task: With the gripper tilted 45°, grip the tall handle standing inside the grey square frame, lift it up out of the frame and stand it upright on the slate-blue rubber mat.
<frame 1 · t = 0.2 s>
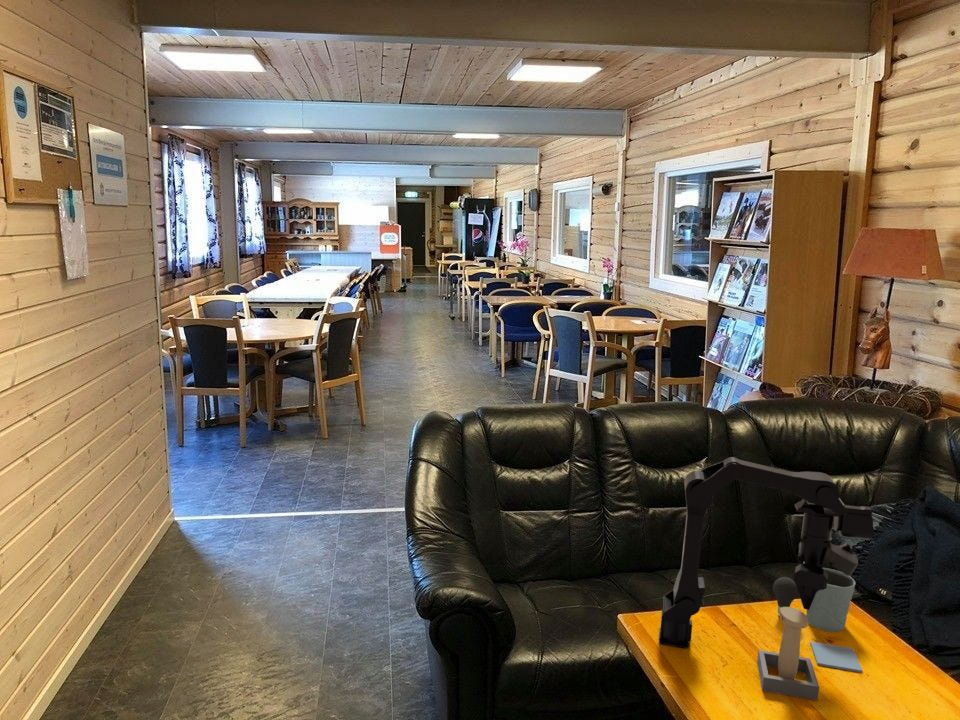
hand: (807, 599, 158), 14 cm above the table, tool pointing down, fingers open, 9 cm apart
grey square frame: (786, 680, 152), on the table
light bulb: (782, 616, 179), on the table
handle: (786, 681, 152), resting in grey square frame
grey cup: (826, 623, 177), on the table
mat: (835, 657, 162), on the table
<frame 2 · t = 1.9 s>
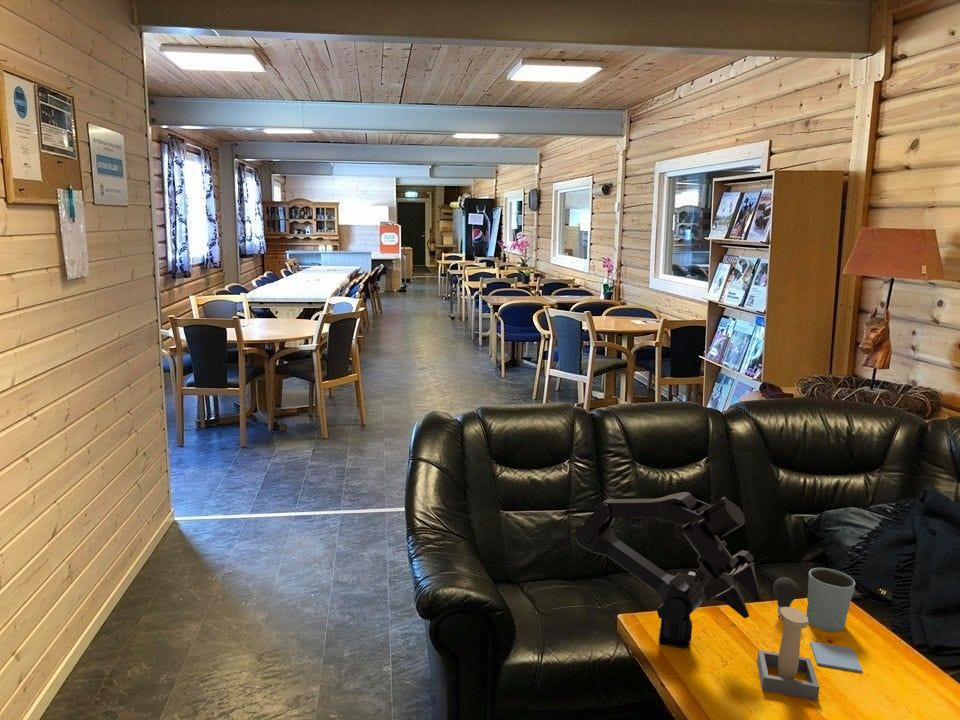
hand: (753, 608, 155), 13 cm above the table, tool tilted 45°, fingers open, 9 cm apart
nothing on the table moved.
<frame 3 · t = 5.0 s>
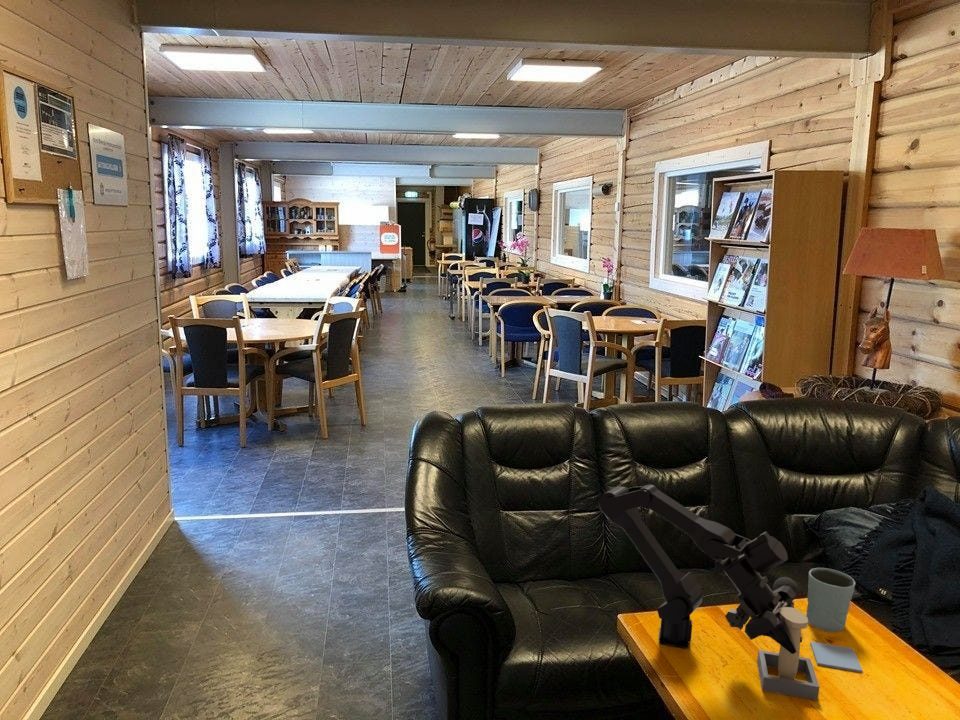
hand: (797, 647, 150), 8 cm above the table, tool tilted 45°, fingers closed on handle, 5 cm apart
handle: (786, 681, 152), resting in grey square frame, touching gripper
everything else where it was.
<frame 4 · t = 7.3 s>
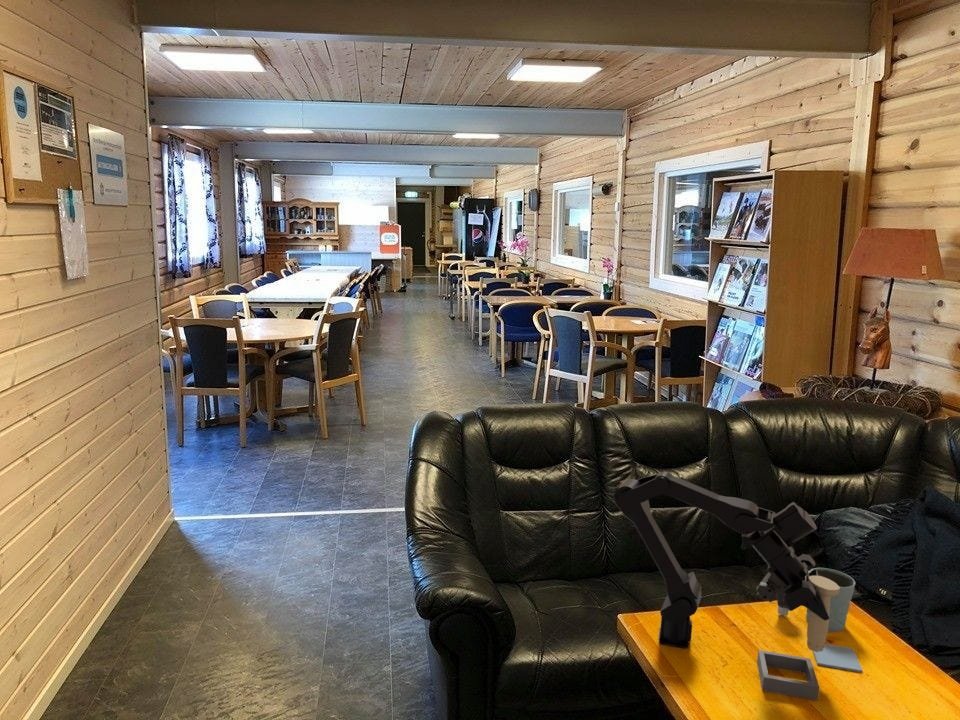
hand: (827, 614, 152), 14 cm above the table, tool tilted 45°, fingers closed on handle, 4 cm apart
handle: (814, 649, 154), point 6 cm above the table, touching gripper
everything else where it was.
when the fingers open (10 cm above the table, at t = 9.6 s): handle drops 1 cm, resting on mat.
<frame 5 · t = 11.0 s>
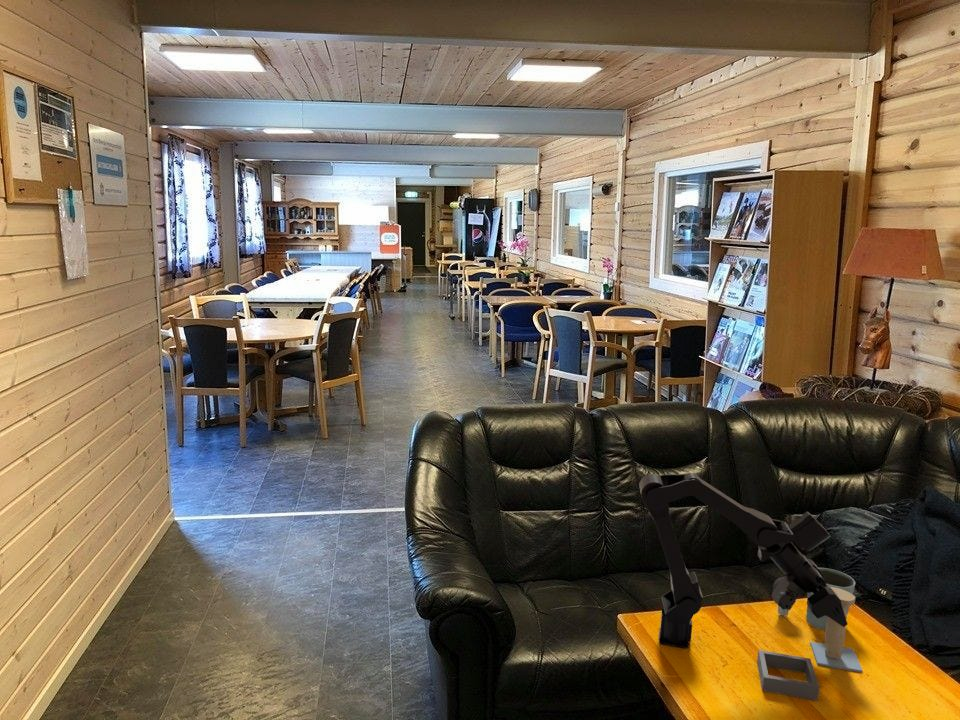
hand: (838, 614, 160), 10 cm above the table, tool tilted 45°, fingers open, 9 cm apart
handle: (832, 656, 161), resting on mat
everything else where it was.
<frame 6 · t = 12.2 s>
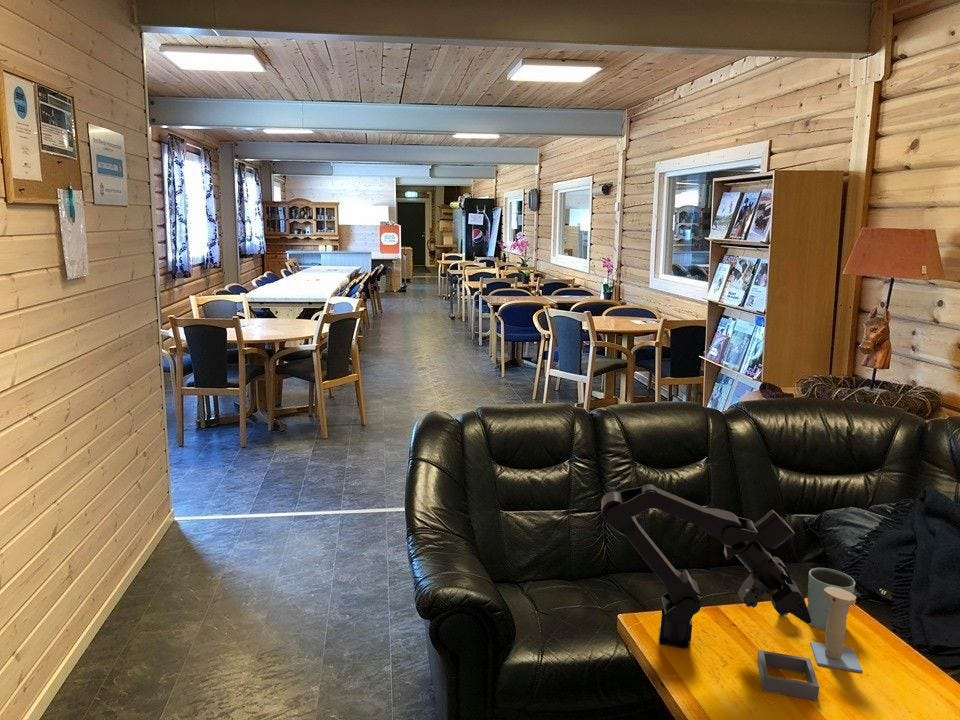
hand: (803, 612, 161), 10 cm above the table, tool tilted 45°, fingers open, 9 cm apart
nothing on the table moved.
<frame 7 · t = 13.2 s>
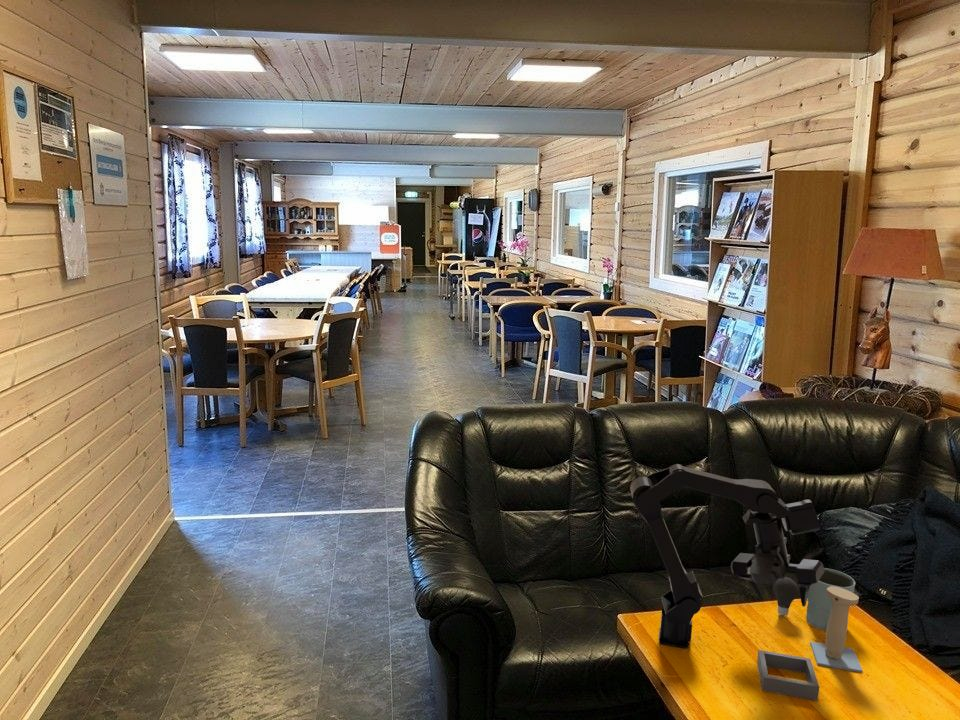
hand: (783, 602, 162), 11 cm above the table, tool tilted 15°, fingers open, 9 cm apart
nothing on the table moved.
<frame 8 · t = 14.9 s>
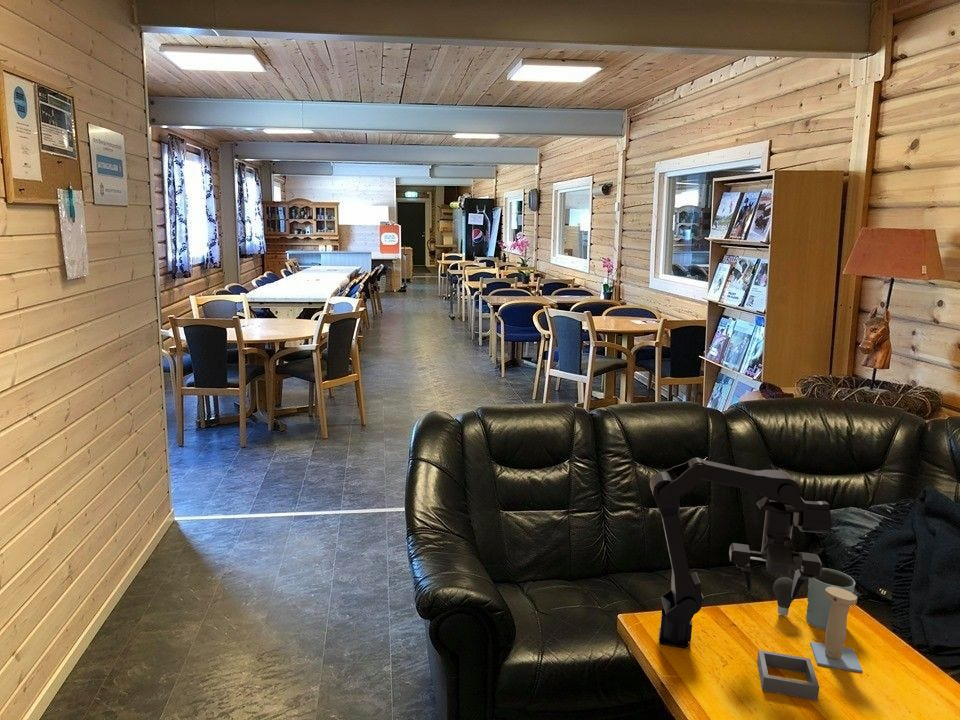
hand: (770, 594, 162), 13 cm above the table, tool pointing down, fingers open, 9 cm apart
nothing on the table moved.
at the end: handle inside the target area (0.8 cm from its centre), resting on mat; handle tilted 1°; the gripper is holding nothing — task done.
